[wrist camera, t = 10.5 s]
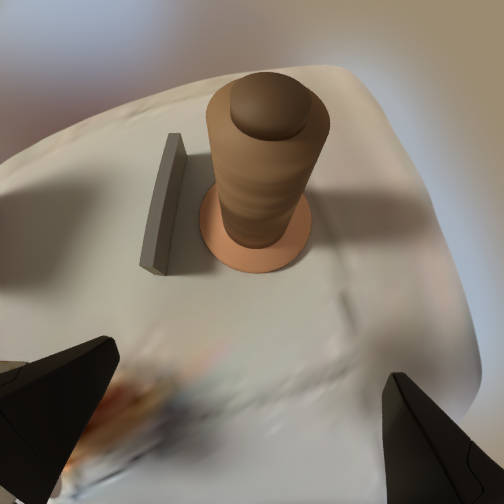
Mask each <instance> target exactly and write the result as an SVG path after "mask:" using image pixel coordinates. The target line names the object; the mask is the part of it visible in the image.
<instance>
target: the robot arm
mask: <svg viewBox="0 0 504 504" xmlns="http://www.w3.org/2000/svg"><path fill="white" fill-rule="evenodd" d="M119 361H120V355H119V352H118V349H117V346H116V343H115V340H114V339H113V338H112V337H108V336H100V337H98V338H95V339H92V340H90V341H87V342H85V343H82V344H80V345H77V346H74V347H72V348H69V349H66V350H64V351H61V352H58V353H56V354H53V355H50V356H48V357H45V358H42V359H40V360H37V361H34V362H32V363H29V364H26V365H24V366H20V367H18V368H15V369H12V370H9V371H6V372H3V373H0V504H17V503H16V502H15V501H16V499H19V500H20V501H21V502H23V503H24V504H47V502H48V499H49V497H50V495H51V493H52V491H53V489H54V487H55V485H56V483H57V481H58V479H59V476H60V474H61V472H62V471H63V469H64V467H65V465H66V463H67V461H68V459H69V457H70V455H71V453H72V451H73V449H74V447H75V446H76V444H77V442H78V440H79V438H80V436H81V435H82V433H83V431H84V429H85V427H86V426H87V424H88V422H89V420H90V418H91V417H92V415H93V413H94V411H95V410H96V408H97V406H98V404H99V403H100V401H101V399H102V397H103V396H104V394H105V392H106V390H107V387H108V385H109V383H110V381H111V379H112V376H113V374H114V372H115V370H116V368H117V366H118V364H119ZM382 439H383V450H384V460H385V472H386V487H387V504H504V469H503V468H502V467H500V466H499V465H498V464H497V463H496V462H495V461H493V460H492V459H491V458H490V457H489V456H488V455H487V454H486V453H485V452H484V451H483V450H481V449H480V448H479V447H478V446H477V445H476V444H475V443H474V441H471V439H470V437H468V435H466V433H465V432H464V431H463V430H462V429H461V428H460V427H459V426H458V425H457V424H456V423H455V422H454V421H453V420H452V419H451V418H450V417H449V416H448V415H447V414H446V413H445V412H444V411H443V410H442V409H441V408H440V407H439V406H438V405H437V404H436V403H435V402H434V401H433V400H432V399H431V398H430V397H429V396H428V395H427V394H425V393H424V392H423V391H422V390H421V389H420V388H419V387H418V386H417V385H416V384H415V383H414V382H413V381H412V380H411V379H410V378H409V377H408V376H407V375H406V374H405V373H403V372H393V373H391V374H390V375H389V377H388V380H387V382H386V385H385V387H384V390H383V393H382Z"/></svg>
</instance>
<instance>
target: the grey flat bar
mask: <svg viewBox="0 0 504 504" xmlns="http://www.w3.org/2000/svg"><path fill="white" fill-rule="evenodd" d="M186 159H187V154H186V151H185V147H184V144H183V140H182V137H181V133H169V134H168V138H167V141H166V145H165V148H164V152H163V155H162V159H161V163H160V167H159V171H158V175H157V179H156V183H155V187H154V191H153V196H152V200H151V205H150V209H149V214H148V219H147V224H146V229H145V234H144V240H143V245H142V251H141V257H140V264H139V266H141V267H142V268H144V269H146V270H147V271H149V272H151V273H152V274H154V275H162V276H166V272H167V264H168V257H169V251H170V244H171V238H172V231H173V225H174V220H175V214H176V208H177V203H178V198H179V193H180V188H181V183H182V178H183V173H184V168H185V164H186Z"/></svg>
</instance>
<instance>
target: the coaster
mask: <svg viewBox="0 0 504 504" xmlns="http://www.w3.org/2000/svg"><path fill="white" fill-rule="evenodd" d="M199 222H200V229H201V233H202V236H203V239H204V241H205V243H206V245H207V247H208V248H209V250H210V251H211V252H212V254H213V255H214V256H215V257H216V258H217V259H218V260H220V261H221V262H222V263H223V264H225V265H227V266H229V267H230V268H233V269H235V270H238V271H241V272H246V273H267V272H271V271H274V270H277V269H279V268H282V267H283V266H285V265H287V264H288V263H290V262H291V261H292V260H293V259H294V258H295V257H296V256H297V255H298V254H299V253H300V252H301V250H302V249H303V248H304V246H305V244H306V242H307V240H308V238H309V235H310V231H311V223H312V219H311V211H310V207H309V204H308V201H307V199H306V197H305V195H304V194H303V193H302V196H301V198H300V200H299V202H298V205H297V207H296V209H295V211H294V213H293V216H292V218H291V220H290V222H289V224H288V227H287V229H286V231H285V233H284V235H283V236H282V237H281V239H280V240H279V241H277V242H276V243H275V244H273V245H271V246H269V247H266V248H262V249H249V248H245V247H242V246H240V245H238V244H237V243H235V242H234V241H233V240H232V239H231V238H230V237H229V236H228V234H227V233H226V231H225V229H224V226H223V220H222V215H221V209H220V203H219V197H218V191H217V185H216V182H215V183H214V185H213V186H212V187H211V188H210V189H209V191H208V192H207V193H206V195H205V197H204V199H203V202H202V205H201V209H200V216H199Z"/></svg>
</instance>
